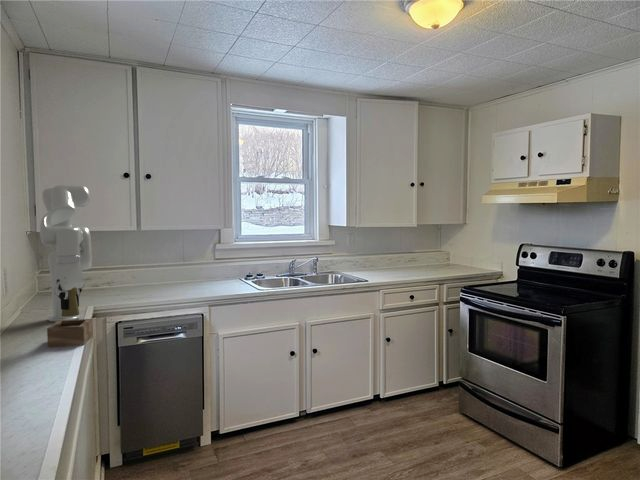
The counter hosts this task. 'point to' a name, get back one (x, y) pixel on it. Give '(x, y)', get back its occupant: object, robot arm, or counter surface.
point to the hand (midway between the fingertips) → (70, 307)
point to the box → (69, 332)
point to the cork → (71, 304)
